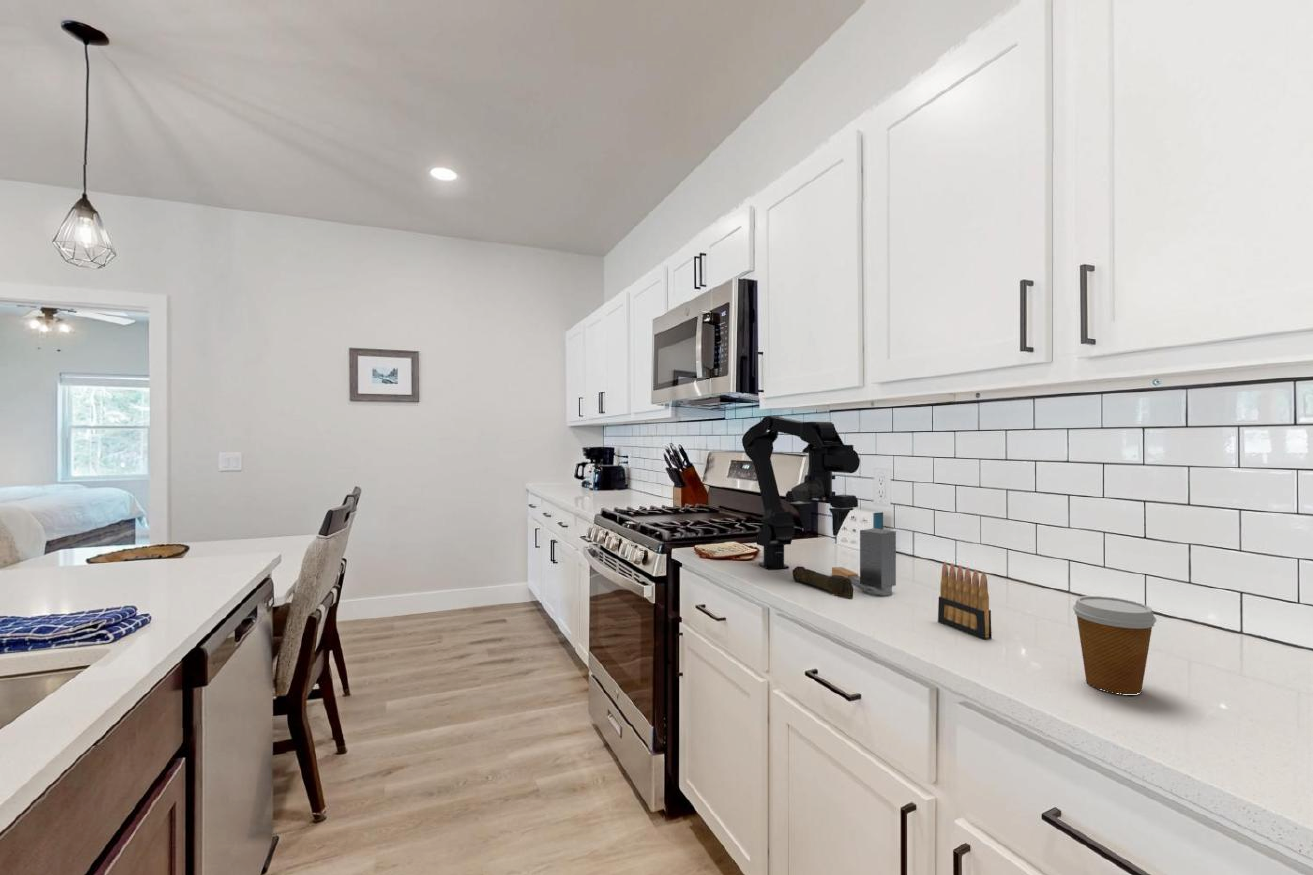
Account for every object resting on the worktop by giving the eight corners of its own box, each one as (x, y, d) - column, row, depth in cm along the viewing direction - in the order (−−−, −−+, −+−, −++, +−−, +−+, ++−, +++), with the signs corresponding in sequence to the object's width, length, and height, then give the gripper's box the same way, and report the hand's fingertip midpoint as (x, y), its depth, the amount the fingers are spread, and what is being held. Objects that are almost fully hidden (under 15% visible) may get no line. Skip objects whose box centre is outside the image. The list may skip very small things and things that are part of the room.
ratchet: (826, 575, 152) (826, 556, 152) (847, 574, 153) (847, 555, 153) (873, 597, 131) (873, 575, 131) (897, 596, 132) (897, 574, 132)
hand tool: (791, 582, 145) (791, 563, 145) (804, 580, 147) (804, 562, 147) (842, 602, 128) (842, 581, 128) (856, 600, 129) (856, 579, 129)
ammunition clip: (992, 639, 104) (992, 572, 104) (984, 640, 103) (984, 572, 103) (944, 621, 114) (945, 560, 114) (937, 622, 113) (937, 560, 113)
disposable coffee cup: (1131, 706, 77) (1131, 617, 77) (1058, 679, 86) (1058, 599, 86) (1171, 694, 81) (1171, 609, 81) (1097, 669, 90) (1097, 592, 90)
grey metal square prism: (860, 583, 135) (860, 530, 135) (874, 580, 138) (874, 528, 138) (881, 589, 130) (881, 533, 130) (895, 585, 134) (895, 531, 134)
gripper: (770, 470, 149) (770, 531, 149) (829, 474, 134) (829, 541, 133) (800, 469, 155) (800, 527, 155) (859, 472, 140) (859, 537, 140)
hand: (820, 533), depth 146 cm, fingers open, 9 cm apart
